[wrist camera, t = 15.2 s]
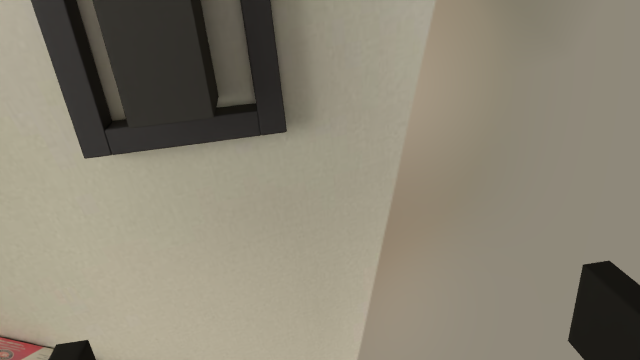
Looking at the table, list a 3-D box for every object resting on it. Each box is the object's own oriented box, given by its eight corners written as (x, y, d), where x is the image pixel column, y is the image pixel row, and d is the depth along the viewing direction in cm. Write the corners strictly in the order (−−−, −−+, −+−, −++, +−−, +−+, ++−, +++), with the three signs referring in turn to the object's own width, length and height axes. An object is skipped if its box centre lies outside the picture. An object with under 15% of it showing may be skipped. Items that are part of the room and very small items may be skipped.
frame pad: (259, -80, 27) (259, -83, 26) (284, 123, 33) (286, 132, 31) (25, -60, 26) (9, -62, 24) (93, 148, 32) (84, 159, 30)
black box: (195, -29, 28) (185, -28, 24) (218, 97, 32) (214, 117, 27) (112, -21, 28) (86, -19, 23) (145, 106, 31) (128, 128, 27)
